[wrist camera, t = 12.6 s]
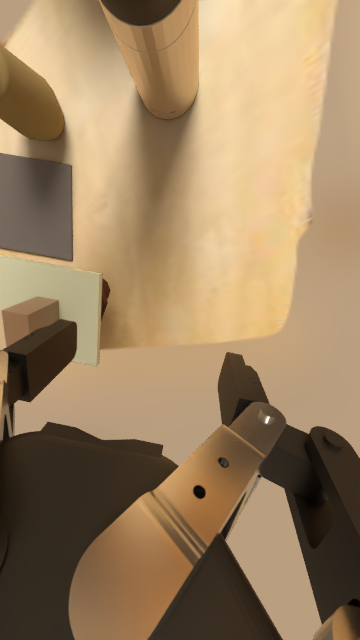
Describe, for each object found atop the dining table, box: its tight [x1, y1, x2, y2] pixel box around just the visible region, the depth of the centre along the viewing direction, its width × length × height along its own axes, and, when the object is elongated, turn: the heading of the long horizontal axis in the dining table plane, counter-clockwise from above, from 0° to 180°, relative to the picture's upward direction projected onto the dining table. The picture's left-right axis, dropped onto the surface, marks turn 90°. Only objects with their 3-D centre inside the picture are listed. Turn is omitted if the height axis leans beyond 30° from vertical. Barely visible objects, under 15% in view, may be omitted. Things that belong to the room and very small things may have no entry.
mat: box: [0, 153, 73, 260], centre depth 42 cm, size 16×16×1 cm
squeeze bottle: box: [0, 45, 64, 140], centre depth 29 cm, size 8×8×18 cm
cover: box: [0, 255, 102, 366], centre depth 29 cm, size 14×14×7 cm
